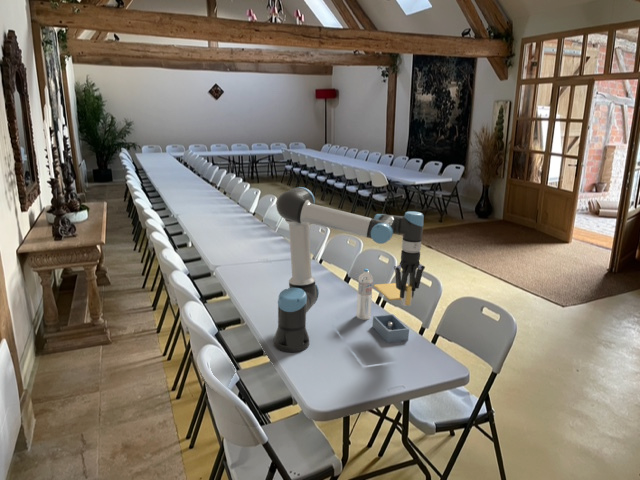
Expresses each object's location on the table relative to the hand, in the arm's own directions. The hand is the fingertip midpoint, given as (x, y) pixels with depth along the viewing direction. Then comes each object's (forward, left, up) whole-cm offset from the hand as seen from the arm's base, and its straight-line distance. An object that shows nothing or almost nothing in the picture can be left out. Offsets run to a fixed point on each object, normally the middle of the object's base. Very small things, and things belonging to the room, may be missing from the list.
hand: (405, 304), depth 196 cm
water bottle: (-5, +31, -20) cm, 38 cm away
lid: (0, +9, +1) cm, 10 cm away
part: (+2, +16, -19) cm, 25 cm away
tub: (0, +12, -20) cm, 23 cm away
